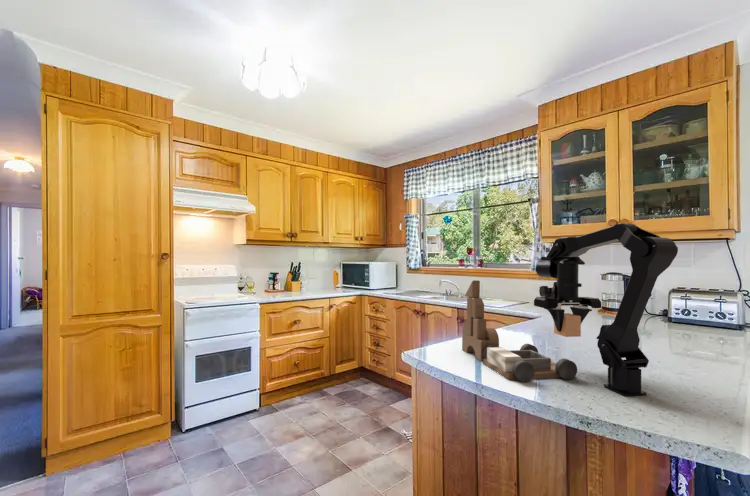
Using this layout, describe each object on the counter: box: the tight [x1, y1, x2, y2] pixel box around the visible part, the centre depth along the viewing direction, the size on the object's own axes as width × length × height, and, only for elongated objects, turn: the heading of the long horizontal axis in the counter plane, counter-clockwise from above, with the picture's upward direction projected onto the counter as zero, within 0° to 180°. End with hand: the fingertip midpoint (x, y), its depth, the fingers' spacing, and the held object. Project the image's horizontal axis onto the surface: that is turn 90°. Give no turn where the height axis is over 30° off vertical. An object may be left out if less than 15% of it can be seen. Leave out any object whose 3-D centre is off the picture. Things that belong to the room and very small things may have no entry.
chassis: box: [482, 343, 578, 383], centre depth 102 cm, size 18×20×6 cm
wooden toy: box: [461, 280, 500, 362], centre depth 118 cm, size 16×7×25 cm, turn 11°
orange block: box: [553, 312, 582, 338], centre depth 105 cm, size 5×5×6 cm
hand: (567, 331), depth 105 cm, fingers closed on orange block, 5 cm apart
